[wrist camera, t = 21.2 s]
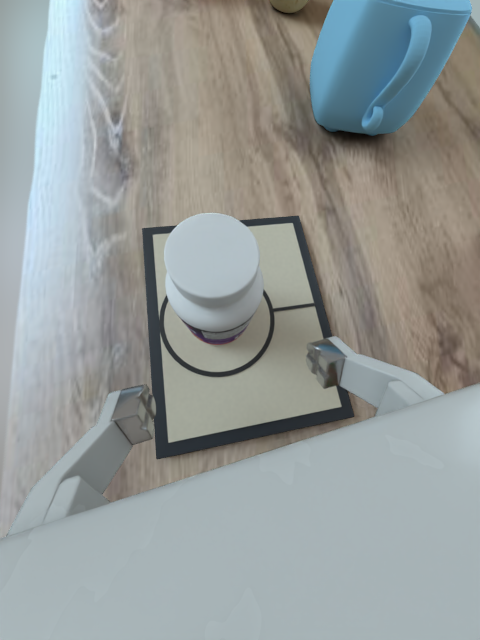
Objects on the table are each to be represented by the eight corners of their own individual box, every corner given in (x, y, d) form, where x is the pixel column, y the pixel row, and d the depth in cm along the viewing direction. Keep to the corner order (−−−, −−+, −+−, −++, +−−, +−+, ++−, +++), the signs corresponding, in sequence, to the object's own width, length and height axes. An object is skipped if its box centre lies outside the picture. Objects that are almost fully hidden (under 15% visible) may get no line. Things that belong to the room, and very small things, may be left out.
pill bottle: (180, 294, 18) (135, 208, 9) (239, 281, 19) (256, 189, 9) (193, 354, 17) (157, 330, 7) (255, 337, 18) (295, 297, 8)
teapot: (378, 68, 31) (466, -105, 20) (402, 160, 26) (534, 3, 15) (298, 57, 30) (343, -131, 18) (308, 151, 25) (377, -23, 14)
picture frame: (159, 455, 16) (154, 461, 15) (145, 233, 20) (140, 225, 19) (349, 414, 18) (357, 417, 17) (296, 220, 22) (300, 213, 21)
